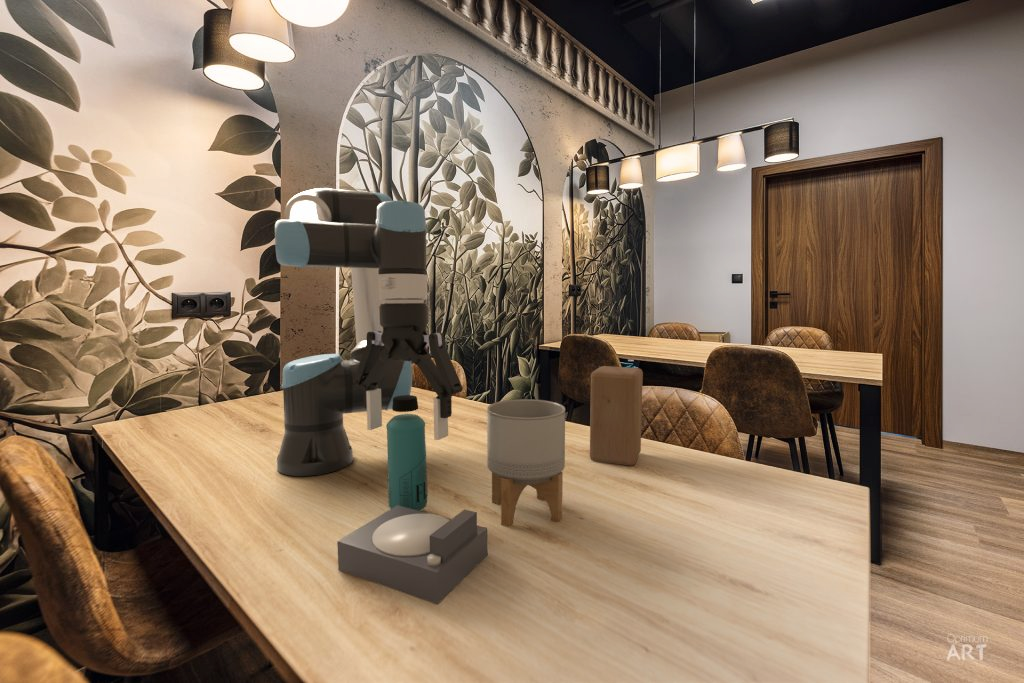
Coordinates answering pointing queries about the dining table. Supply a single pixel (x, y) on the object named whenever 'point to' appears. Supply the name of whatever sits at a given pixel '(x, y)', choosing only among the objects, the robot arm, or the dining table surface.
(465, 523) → the domed button base
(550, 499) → the planter
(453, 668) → the dining table surface
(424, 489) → the beverage bottle
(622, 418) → the wooden block
